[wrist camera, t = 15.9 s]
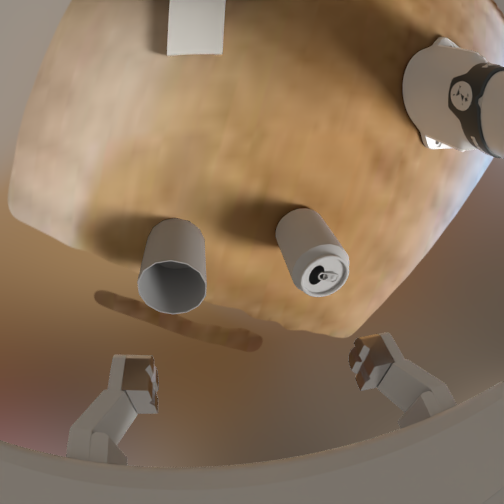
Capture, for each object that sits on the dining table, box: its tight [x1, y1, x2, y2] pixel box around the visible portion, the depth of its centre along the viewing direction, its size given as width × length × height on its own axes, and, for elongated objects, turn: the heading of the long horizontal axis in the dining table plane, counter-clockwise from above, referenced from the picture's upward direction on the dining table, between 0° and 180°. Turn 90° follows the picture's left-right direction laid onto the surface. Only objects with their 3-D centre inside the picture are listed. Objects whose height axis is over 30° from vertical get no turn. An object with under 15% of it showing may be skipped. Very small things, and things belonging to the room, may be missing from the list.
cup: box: [138, 218, 207, 314], centre depth 40 cm, size 8×8×10 cm
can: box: [276, 208, 349, 297], centre depth 41 cm, size 8×8×12 cm
